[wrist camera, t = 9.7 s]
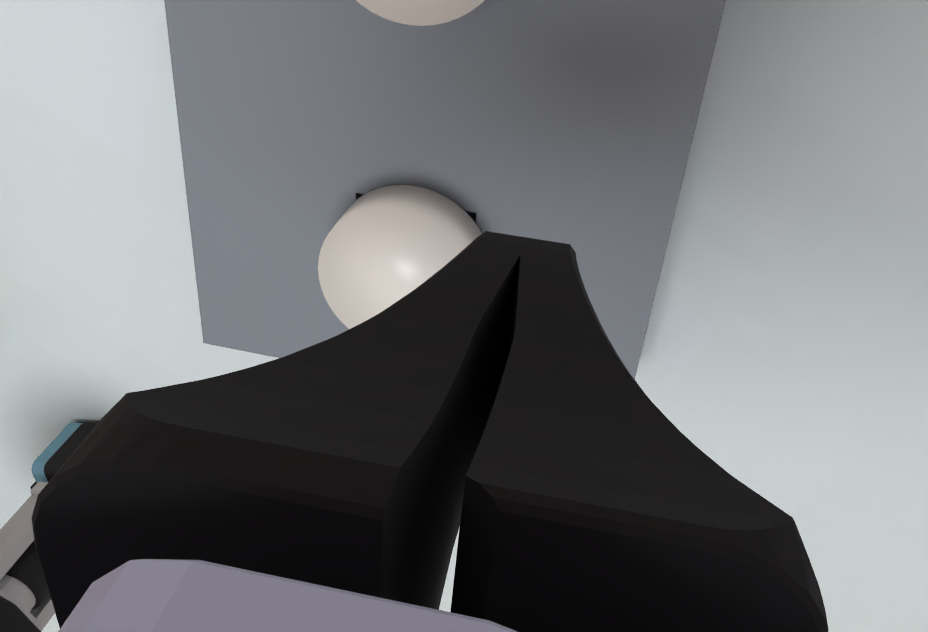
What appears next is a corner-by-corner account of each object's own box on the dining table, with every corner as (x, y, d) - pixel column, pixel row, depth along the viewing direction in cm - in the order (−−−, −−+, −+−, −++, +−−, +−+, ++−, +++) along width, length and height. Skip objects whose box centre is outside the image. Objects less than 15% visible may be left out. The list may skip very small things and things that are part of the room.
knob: (511, 166, 21) (488, 222, 19) (496, 299, 23) (473, 366, 21) (359, 142, 22) (316, 193, 19) (358, 275, 24) (319, 336, 21)
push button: (204, 546, 34) (52, 792, 26) (89, 535, 35) (-90, 767, 27) (154, 415, 31) (-40, 652, 22) (29, 409, 32) (-198, 631, 24)
